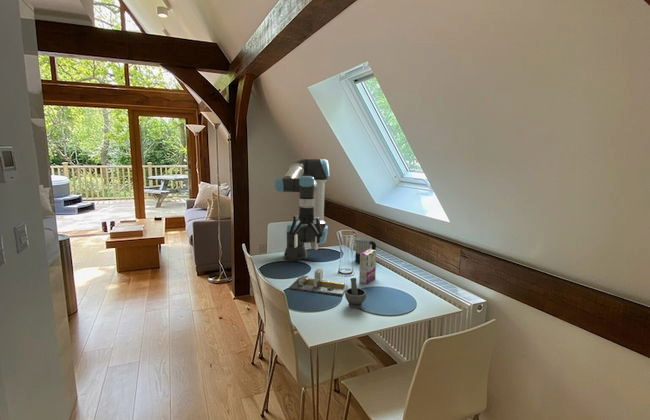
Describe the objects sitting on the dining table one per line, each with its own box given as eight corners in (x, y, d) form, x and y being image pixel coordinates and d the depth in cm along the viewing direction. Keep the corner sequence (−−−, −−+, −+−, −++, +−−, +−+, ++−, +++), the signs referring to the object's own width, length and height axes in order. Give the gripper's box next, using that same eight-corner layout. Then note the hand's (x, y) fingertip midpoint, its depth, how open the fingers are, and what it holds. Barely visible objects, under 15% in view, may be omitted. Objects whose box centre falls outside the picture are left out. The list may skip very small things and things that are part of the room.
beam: (300, 280, 189) (300, 275, 188) (345, 286, 182) (345, 280, 181) (295, 285, 182) (295, 279, 182) (341, 291, 175) (341, 286, 175)
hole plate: (297, 280, 192) (297, 278, 191) (347, 287, 184) (347, 285, 184) (289, 288, 180) (289, 286, 180) (342, 296, 172) (342, 293, 172)
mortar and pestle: (367, 310, 158) (369, 285, 156) (347, 311, 156) (348, 285, 154) (361, 299, 169) (362, 275, 167) (342, 300, 167) (343, 276, 165)
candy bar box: (367, 276, 200) (368, 248, 197) (375, 278, 197) (376, 250, 194) (358, 282, 191) (359, 253, 188) (366, 284, 188) (368, 255, 185)
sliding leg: (317, 281, 187) (317, 268, 186) (322, 282, 186) (322, 269, 185) (312, 287, 179) (312, 273, 178) (317, 287, 179) (318, 274, 177)
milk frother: (361, 264, 219) (362, 242, 217) (345, 258, 232) (345, 236, 229) (377, 260, 228) (378, 238, 225) (361, 254, 240) (362, 233, 238)
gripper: (282, 206, 179) (282, 247, 183) (326, 209, 172) (325, 252, 176) (288, 204, 186) (288, 244, 190) (330, 206, 179) (329, 248, 183)
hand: (306, 248), depth 183 cm, fingers open, 11 cm apart
